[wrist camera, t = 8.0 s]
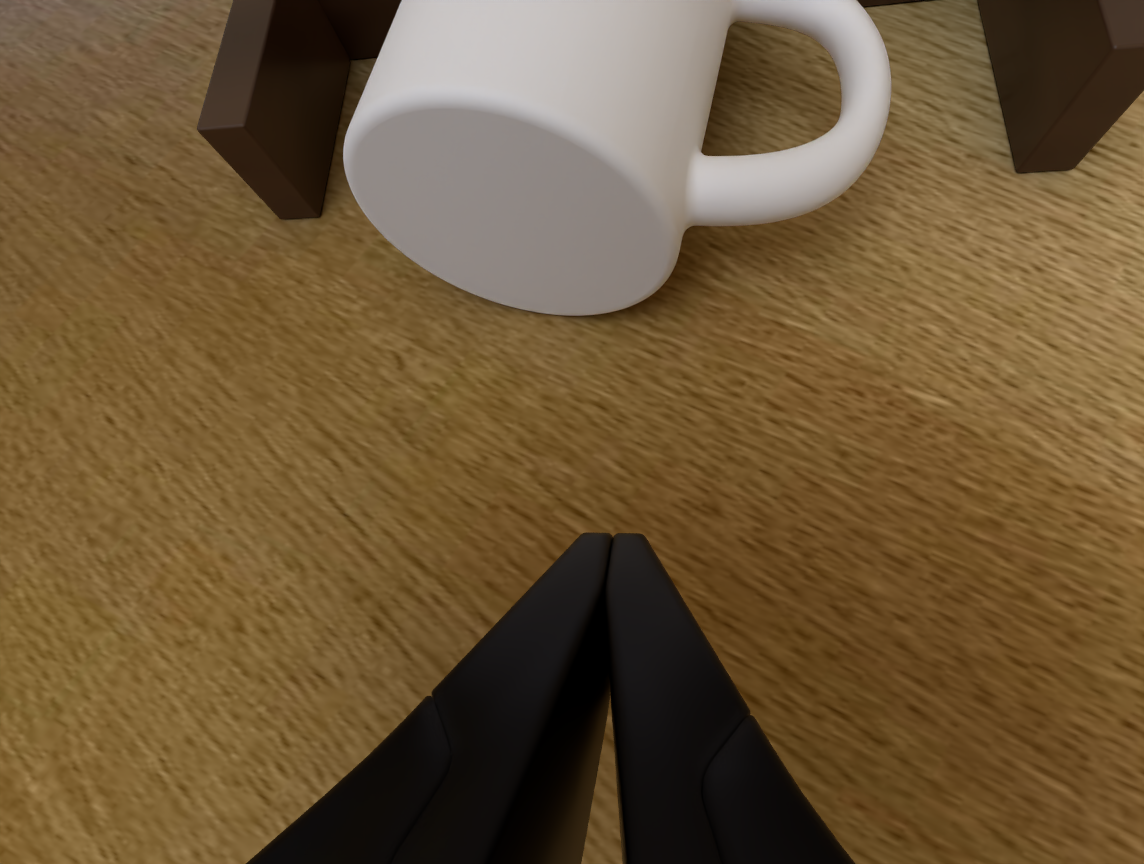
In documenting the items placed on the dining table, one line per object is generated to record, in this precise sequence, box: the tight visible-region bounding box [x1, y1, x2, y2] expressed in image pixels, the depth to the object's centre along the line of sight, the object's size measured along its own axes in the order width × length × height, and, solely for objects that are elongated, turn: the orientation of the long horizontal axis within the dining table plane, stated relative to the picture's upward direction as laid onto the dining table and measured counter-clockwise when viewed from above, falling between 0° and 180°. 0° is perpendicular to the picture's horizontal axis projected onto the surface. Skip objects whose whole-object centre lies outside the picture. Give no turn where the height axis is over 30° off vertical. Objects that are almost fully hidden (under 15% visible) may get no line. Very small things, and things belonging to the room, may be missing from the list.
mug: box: [343, 0, 891, 316], centre depth 15 cm, size 12×10×8 cm
